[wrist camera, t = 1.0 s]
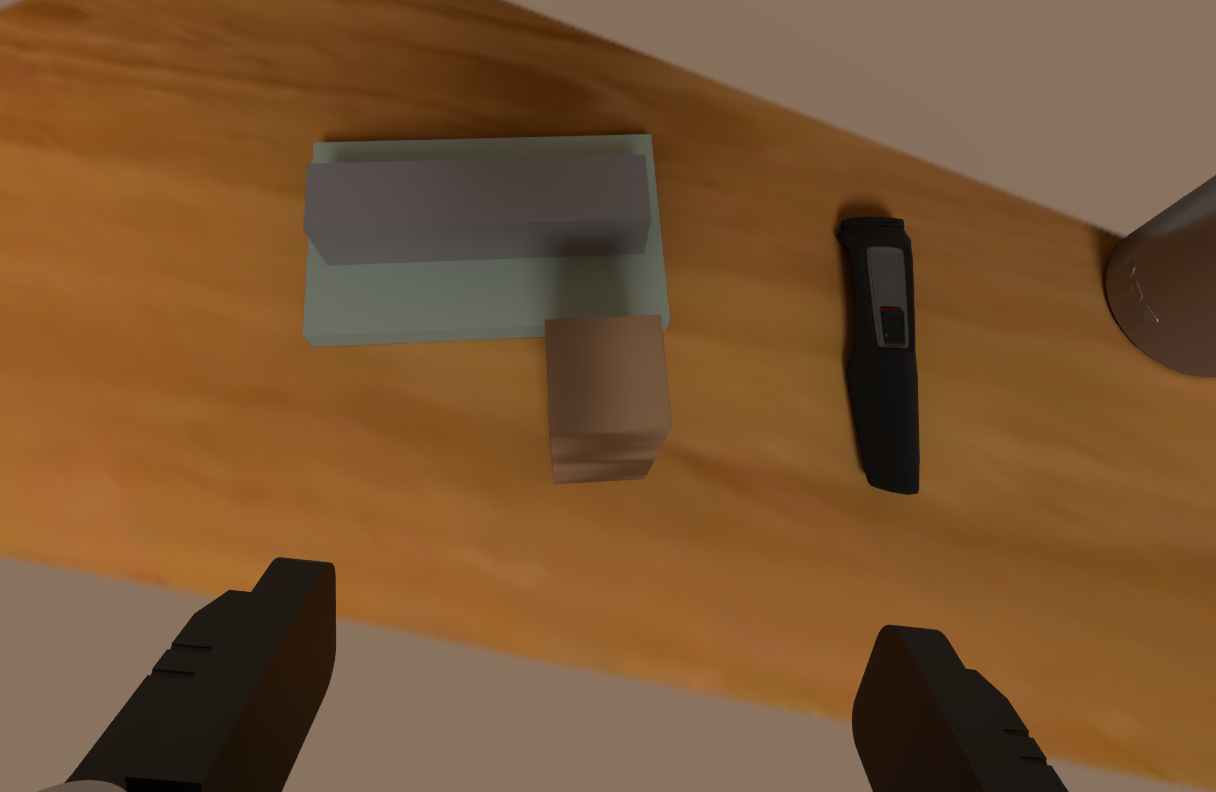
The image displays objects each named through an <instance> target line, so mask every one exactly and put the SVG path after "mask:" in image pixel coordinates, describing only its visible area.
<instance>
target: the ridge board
mask: <svg viewBox="0 0 1216 792" xmlns="http://www.w3.org/2000/svg"><path fill="white" fill-rule="evenodd" d="M304 231H305V233H306V234H307V236H308V255H307V273H306V291H305V309H304V327H303V337H304V338H305V339H306V340H307V341H308V342H309V343H310V344H311V345H312V346H313V347H326V346H349V345H371V344H393V343H416V342H438V341H461V340H483V339H506V338H528V337H545V320H550V319H573V318H596V317H620V316H643V315H661V319H662V329H663V331H666V330H667V327H668V324H669V322H670V315H669V305H668V295H667V285H666V276H665V266H664V256H663V246H662V236H661V226H660V217H659V207H658V197H657V187H656V177H655V167H654V158H653V148H652V138H651V134H637V135H597V136H557V137H517V138H478V139H438V140H398V141H358V142H318V143H314V146H313V164H307V179H306V196H305V214H304Z"/></svg>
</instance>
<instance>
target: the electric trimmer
mask: <svg viewBox="0 0 1216 792" xmlns="http://www.w3.org/2000/svg"><path fill="white" fill-rule="evenodd" d="M841 229H842V230H841V231H840V232H839V233H838V234H837V237H838V241H840V242H842V243H844V244H845V245H846V247H847V248H848V251H849V254H850V262H851V270H852V281H853V295H854V309H855V342H854V346H853V350H852V353H851V356H850V359H849V361H848V364H847V377H848V384H849V391H850V396H851V401H852V406H853V411H854V416H855V422H856V427H857V432H858V437H859V442H860V447H861V453H862V458H863V463H864V468H865V473H866V477H867V480H868V483H869V484H870V485H871V486H873V487H876V488H879V489H882V490H886V491H889V492H894V493H900V494H906V495H910V494H917V493H918V491H919V463H920V454H919V414H918V376H917V366H916V354H915V310H914V279H913V258H912V250H911V240H910V238H909V237H908V235H907V234H906V232H905V231H904V221H903V219H897V218H885V217H858V218H852V219H846V220H843V221H841Z"/></svg>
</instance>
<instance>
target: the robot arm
mask: <svg viewBox="0 0 1216 792" xmlns="http://www.w3.org/2000/svg"><path fill="white" fill-rule="evenodd" d="M1106 290H1107V296H1108V301H1109V304H1110V306H1111V309H1112V311H1113V314H1114V316H1115V318H1116V320H1117V322H1118V323H1119V325H1120V326H1121V328H1122V329H1123V331H1124V333H1125V334H1126V335H1127V336H1128V337H1129V338H1130V339H1131V341H1132V342H1133V343H1134V344H1135V345H1136V346H1137V347H1138V348H1139V349H1140V350H1142V351H1143V352H1144V353H1146V354H1147V355H1148V356H1149V357H1151V358H1152V359H1153V360H1155V361H1157V362H1159V363H1160V364H1162V365H1164V366H1166V367H1168V368H1170V369H1172V370H1175V371H1178V372H1181V373H1184V374H1187V375H1192V376H1199V377H1216V175H1215V176H1214V177H1212V178H1211V179H1209V180H1208V181H1206V182H1205V183H1204V184H1202V185H1201V186H1199V187H1198V188H1196V189H1195V190H1193V191H1192V192H1191V193H1189V194H1188V195H1186V196H1185V197H1183V198H1181V199H1180V200H1179V201H1177V202H1176V203H1174V204H1173V205H1171V206H1170V207H1168V208H1167V209H1166V210H1164V211H1163V212H1162V213H1160V214H1158V215H1157V216H1155V217H1154V218H1153V219H1151V220H1150V221H1148V222H1147V223H1145V224H1144V225H1142V226H1141V227H1140V228H1138V229H1137V230H1135V231H1134V232H1132V233H1131V234H1129V235H1128V236H1127V237H1126V238H1125V239H1124V240H1123V241H1121V242H1120V243H1119V244H1118V246H1117V247H1116V249H1115V250H1114V252H1113V253H1112V255H1111V257H1110V260H1109V263H1108V267H1107V270H1106ZM335 654H336V576H335V568H334V565H333V564H332V563H329V562H320V561H311V560H301V559H292V558H283V557H278V558H276V559H274V560H273V561H272V563H271V564H270V565H269V567H268V568H267V570H266V571H265V573H264V574H263V576H262V577H261V578H260V580H259V581H258V583H257V584H256V586H255V587H254V589H253V590H252V592H245V591H236V590H229V591H227V592H226V593H224V594H223V595H221V596H220V597H218V598H217V599H215V600H214V601H212V602H211V603H209V604H208V605H206V606H205V607H203V608H202V609H201V610H199V611H198V612H196V613H195V614H194V615H193V616H192V618H191V619H190V620H189V621H188V623H187V624H186V626H185V627H184V628H183V629H182V631H181V632H180V633H179V635H178V636H177V637H176V639H175V640H174V641H173V642H172V646H171V649H170V650H166V652H165V653H164V654H163V656H162V657H161V659H160V660H159V661H158V662H157V663H156V665H155V666H154V667H153V670H152V674H151V675H147V677H146V678H145V679H144V680H143V682H142V683H141V684H140V686H139V687H138V688H137V690H136V691H135V692H134V694H133V695H132V696H131V698H130V699H129V700H128V702H127V703H126V704H125V705H124V707H123V708H122V709H121V711H120V712H119V713H118V715H117V716H116V717H115V718H114V720H113V721H112V722H111V724H110V725H109V726H108V728H107V729H106V731H105V732H104V733H103V734H102V735H101V737H100V738H99V739H98V741H97V742H96V743H95V745H94V746H93V747H92V749H91V750H90V751H89V753H88V754H87V755H86V756H85V758H84V759H83V760H82V762H81V763H80V764H79V766H78V767H77V768H76V770H75V771H74V772H73V774H72V775H71V776H70V777H69V778H68V779H67V781H66V782H65V783H63V784H59V785H56V786H53V787H50V788H47V789H44V790H42V791H39V792H282V790H283V787H284V785H285V783H286V781H287V779H288V776H289V774H290V772H291V769H292V767H293V765H294V763H295V761H296V759H297V756H298V754H299V752H300V750H301V747H302V745H303V743H304V741H305V738H306V736H307V734H308V732H309V730H310V727H311V725H312V723H313V721H314V719H315V716H316V714H317V712H318V710H319V707H320V705H321V703H322V701H323V699H324V696H325V694H326V691H327V689H328V686H329V683H330V679H331V676H332V672H333V667H334V661H335ZM852 730H853V737H854V742H855V745H856V748H857V751H858V754H859V756H860V759H861V762H862V764H863V767H864V769H865V772H866V775H867V777H868V780H869V783H870V785H871V788H872V791H873V792H1068V790H1067V789H1066V788H1065V786H1064V784H1063V783H1062V781H1061V780H1060V778H1059V777H1058V775H1057V774H1056V772H1055V771H1054V769H1053V767H1052V766H1050V765H1047V763H1046V759H1047V758H1046V757H1045V755H1044V754H1043V752H1042V751H1041V749H1040V748H1039V746H1038V745H1037V743H1036V742H1035V740H1034V738H1030V737H1029V734H1028V733H1029V731H1028V729H1027V728H1026V726H1025V725H1024V723H1023V722H1022V720H1021V719H1020V717H1019V716H1018V714H1017V713H1016V711H1015V710H1014V708H1013V706H1012V705H1011V703H1010V702H1009V700H1008V699H1007V698H1006V697H1005V696H1004V695H1003V694H1002V693H1000V692H999V691H998V690H997V689H996V688H995V687H994V686H993V685H992V684H991V683H989V682H988V681H987V680H986V679H985V678H984V677H983V676H982V675H981V674H980V673H979V672H977V671H976V670H971V669H966V668H965V667H964V665H963V663H962V662H961V660H960V659H959V657H958V655H957V654H956V652H955V650H954V649H953V647H952V646H951V644H950V642H949V641H948V639H947V638H946V636H945V635H944V634H943V633H942V632H940V631H939V630H934V629H925V628H915V627H906V626H897V625H886V626H884V627H883V628H882V629H881V630H880V632H879V634H878V636H877V639H876V642H875V645H874V647H873V650H872V653H871V656H870V659H869V661H868V664H867V667H866V670H865V672H864V675H863V678H862V681H861V684H860V686H859V689H858V692H857V695H856V698H855V701H854V705H853V711H852Z"/></svg>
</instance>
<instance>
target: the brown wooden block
mask: <svg viewBox="0 0 1216 792" xmlns="http://www.w3.org/2000/svg"><path fill="white" fill-rule="evenodd" d="M545 337H546V358H547V379H548V400H549V421H550V438H551V450H552V461H553V473H554V484H566V483H583V482H600V481H617V480H634V479H644V478H645V477H646V475H647V473H648V471H649V469H650V467H651V465H652V464H653V462H654V460H655V458H656V456H657V454H658V452H659V450H660V449H661V447H662V445H663V443H664V441H665V439H666V437H667V436H668V434H669V432H670V430H671V428H672V421H671V411H670V400H669V390H668V380H667V370H666V360H665V349H664V339H663V329H662V319H661V315H643V316H620V317H596V318H573V319H550V320H545Z"/></svg>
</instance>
